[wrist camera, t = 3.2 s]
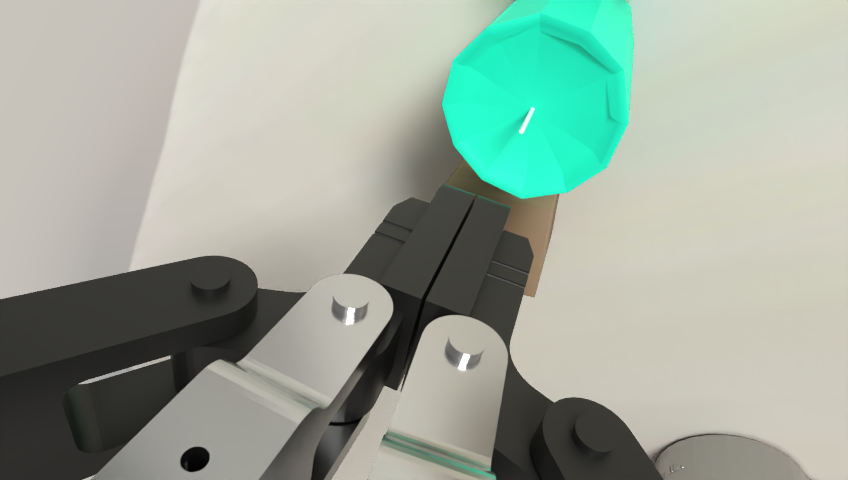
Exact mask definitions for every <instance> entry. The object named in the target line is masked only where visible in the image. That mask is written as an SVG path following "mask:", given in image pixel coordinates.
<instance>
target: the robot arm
mask: <svg viewBox="0 0 848 480" xmlns="http://www.w3.org/2000/svg"><path fill="white" fill-rule="evenodd" d="M475 200H476V195H475V194H472V193H469V192H466V191H464V190H461V189H458V188H455V187H452V186H449V185H446V184H443V185H442V186H441V187H440V189H439V191H438V192H437V194H436V195H435V197H434V198H433V200H432V201H431V203H430V204H429V203H427V202H424V201H421V200H418V199H415V198H410V199H408V200H405V201H403V202H401V203H399V204H397V205H395V206H394V207H393V208H392V209H391V211H390V212H389V213H388V215H387V216H386V217H385V219H384V220H383V223H381V224H380V225H379V227H378V228H377V229H376V231H375V233H374V234H373V235H372V236H371V237H370V239H369V240H368V241H367V243H366V244H365V245H364V247H363V248H362V249H361V251H360V252H359V253H358V255H357V256H356V257H355V259H354V260H353V261H352V263H351V264H350V265H349V267H348V268H347V269H346V271H345V272H344V273H343V274H338V275H333V276H329V277H326V278H324V279H322V280H320V281H318V282H317V283H316V284H315V285H314V286H313V287H312V288H311V289H310V290H309V291H308V292H302V293H294V292H284V291H276V290H268V289H260V288H258V283H257V278H256V275H255V273H254V272H253V271H252V269H251V268H249V267H248V266H247V265H246V264H244V263H243V262H241V261H238V260H236V259H233V258H229V257H224V256H203V257H197V258H193V259H188V260H183V261H179V262H174V263H169V264H164V265H160V266H155V267H150V268H146V269H141V270H136V271H132V272H127V273H122V274H118V275H113V276H109V277H104V278H99V279H94V280H90V281H85V282H80V283H76V284H71V285H66V286H61V287H57V288H52V289H47V290H43V291H38V292H33V293H28V294H24V295H19V296H14V297H10V298H5V299H0V480H82V479H85V478H88V477H90V476H92V475H95V474H96V475H95V476H94V477H93V478H92V479H91V480H331V479H332V478H333V476H334V474H335V473H336V471H337V469H338V468H339V466H340V465H341V463H342V461H343V460H344V458H345V456H346V455H347V453H348V452H349V450H350V448H351V447H352V445H353V443H354V442H355V440H356V438H357V437H358V435H359V434H360V432H361V430H362V429H363V427H364V425H365V424H366V422H367V420H368V418H369V414H370V410H371V409H372V407H373V406H374V404H375V403H376V401H377V399H378V397H379V395H380V393H381V391H382V389H383V387H384V386H387V387H389V388H392V389H394V390H397V389H398V387H399V385H400V383H401V381H402V379H403V377H404V375H405V377H404V381H403V384H402V388H401V394H400V397H399V400H398V403H397V406H396V408H395V411H394V414H393V417H392V419H391V422H390V425H389V428H388V430H387V433H386V435H384V436H383V439H382V441H381V444H380V446H379V449H378V451H377V454H376V457H375V460H374V462H373V465H372V468H371V471H370V473H369V476H368V479H367V480H810V479H809V478H808V477H807V476H806V475H805V473H804V472H803V470H802V469H801V468H800V466H799V465H798V464H797V463H796V462H795V461H794V460H792V459H791V458H790V457H789V456H788V455H786V454H784V453H783V452H781V451H779V450H778V449H776V448H774V447H772V446H769V445H767V444H764V443H762V442H759V441H755V440H751V439H748V438H744V437H737V436H729V435H704V436H698V437H691V438H688V439H685V440H682V441H679V442H677V443H675V444H673V445H671V446H669V447H668V448H667V449H665V450H664V451H663V452H662V453H661V454H660V455H659V457H658V458H657V460H656V462H655V465H654V464H653V463H652V462H651V460H650V459H649V457H648V456H647V454H646V453H645V451H644V450H643V448H642V447H641V445H640V444H639V442H638V441H637V439H636V438H635V437H634V435H633V434H632V432H631V431H630V429H629V428H628V427H627V425H626V424H625V423H624V422H623V421H622V420H621V419H620V418H619V417H618V416H617V415H616V414H614V413H613V412H612V411H611V410H609V409H607V408H606V407H604V406H603V405H600V404H598V403H596V402H594V401H591V400H588V399H583V398H574V397H572V398H564V399H561V400H558V401H557V402H555V403H554V402H552V401H551V400H549V399H548V398H547V397H545V396H544V395H543V394H541V393H540V392H538V391H537V390H536V389H534V388H533V387H532V386H531V385H529V384H528V383H527V382H526V381H525V380H524V379H523V377H522V376H521V375H520V374H519V372H518V371H517V369H516V368H515V366H514V364H513V361H512V359H511V355H510V347H509V345H510V340H511V336H512V333H513V329H514V325H515V322H516V318H517V315H518V311H519V308H520V304H521V301H522V297H523V294H524V289H525V286H526V283H527V279H528V275H529V272H530V269H531V265H532V262H533V258H534V255H533V252H532V249H531V246H530V243H529V240H528V238H526V237H523V236H520V235H517V234H514V233H511V232H509V231H506V230H504V229H505V226H506V223H507V220H508V217H509V214H510V212H511V209H512V207H510V206H507V205H504V204H501V203H498V202H496V201H493V200H490V199H487V198H484V197H481V196H478V198H477V200H476V202H475ZM169 355H170V356H171V359H169V360H166V361H162V362H159V363H156V364H152V365H149V366H146V367H142V368H139V369H136V370H132V371H129V372H126V373H123V374H119V375H116V376H113V377H109V378H106V379H103V380H99V381H96V382H93V383H89V384H79V383H81V382H83V381H85V380H88V379H92V378H95V377H98V376H102V375H105V374H108V373H112V372H115V371H118V370H122V369H125V368H129V367H132V366H135V365H139V364H142V363H146V362H149V361H152V360H156V359H159V358H162V357H166V356H169Z"/></svg>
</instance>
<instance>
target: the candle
mask: <svg viewBox="0 0 848 480" xmlns="http://www.w3.org/2000/svg"><path fill="white" fill-rule="evenodd" d="M633 50H634V38H633V26H632V15H631V7H630V6H629V4H628V3H627V2H626V0H516V1H515V2H514V3H513V4H512V5H510V6H509V7H508V8H507V9H506V10H505V11H504V12H503V13H502V14H501V15H500V16H499V17H498V18H496V19H495V20H494V21H493V22H492V23H491V24H490V25H489V26H488V27H487V28H486V29H485V30H484V31H483V32H482V33H481V34H480V35H479V36H478V37H477V38H476V39H474V40H473V41H472V42H471V43H470V44H469V45H468V46H467V47H466V48H465V49H464V50H463V51H462V52H461V53H460V54H459V55H458V56H457V57H456V58H455V59H454V60H453V63H452V67H451V71H450V74H449V78H448V82H447V86H446V90H445V93H444V97H443V101H442V108H443V111H444V114H445V118H446V121H447V125H448V128H449V132H450V135H451V138H452V142H453V145H454V147H455V148H456V149H457V150H458V152H459V153H460V154H461V155H462V156H463V158H464V159H465V160H466V161H467V162H468V164H469V165H470V166H471V167H472V169H473V170H474V171H475V172H476V173H477V175H478V176H479V177H480V178H481V179H482V180H483V181H485V182H488V183H490V184H492V185H494V186H496V187H498V188H500V189H502V190H504V191H506V192H508V193H510V194H512V195H515V196H517V197H519V198H521V199H525V198H532V197H539V196H546V195H553V194H560V193H567V192H569V191H571V190H572V189H574V188H575V187H577V186H579V185H580V184H582V183H583V182H585V181H586V180H588V179H590V178H591V177H593V176H594V175H596V174H597V173H599V172H601V171H602V170H604V169H605V168H607V166H608V164H609V162H610V160H611V158H612V156H613V154H614V152H615V150H616V148H617V146H618V144H619V142H620V140H621V138H622V136H623V134H624V131H625V129H626V127H627V125H628V123H629V109H630V94H631V79H632V65H633Z"/></svg>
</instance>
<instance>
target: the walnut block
mask: <svg viewBox="0 0 848 480" xmlns="http://www.w3.org/2000/svg"><path fill="white" fill-rule="evenodd" d="M446 185H449V186H452V187H455V188H458V189H461V190H464V191H466V192H469V193H472V194H475V195H476V200H477V198H478V196H481V197H484V198H487V199H490V200H493V201H496V202H498V203H501V204H504V205H507V206H510V207H512V209H511V212H510V214H509V217H508V220H507V223H506V226H505V229H504V230H506V231H509V232H511V233H514V234H517V235H520V236H523V237H526V238H528V240H529V243H530V246H531V249H532V252H533V255H534V258H533V262H532V265H531V269H530V272H529V275H528V279H527V283H526V286H525V289H524V294H523V295H527V296H531V297H535V293H536V290H537V286H538V282H539V279H540V275H541V271H542V268H543V264H544V260H545V257H546V253H547V249H548V245H549V242H550V238H551V234H552V229H553V224H554V219H555V213H556V208H557V203H558V198H559V194H553V195H546V196H539V197H532V198H525V199H521V198H519V197H517V196H515V195H512V194H510V193H508V192H506V191H504V190H502V189H500V188H498V187H496V186H494V185H492V184H490V183H488V182H485V181H483V180H482V179H481V178H480V177H479V176H478V175H477V173H476V172H475V171H474V170H473V169H472V167H471V166H470V165H469V164H468V162H467V161H466V160H465V159H464V158H463V159H462V161H461V162H460V164H459V165H458V167H457V168H456V170H455V171H454V173H453V174H452V176H451V177H450V179H449V180H448V182H447V183H446ZM476 200H475V202H476Z"/></svg>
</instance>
